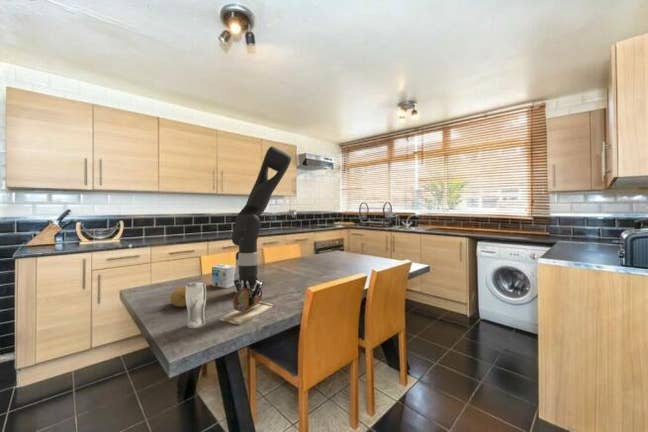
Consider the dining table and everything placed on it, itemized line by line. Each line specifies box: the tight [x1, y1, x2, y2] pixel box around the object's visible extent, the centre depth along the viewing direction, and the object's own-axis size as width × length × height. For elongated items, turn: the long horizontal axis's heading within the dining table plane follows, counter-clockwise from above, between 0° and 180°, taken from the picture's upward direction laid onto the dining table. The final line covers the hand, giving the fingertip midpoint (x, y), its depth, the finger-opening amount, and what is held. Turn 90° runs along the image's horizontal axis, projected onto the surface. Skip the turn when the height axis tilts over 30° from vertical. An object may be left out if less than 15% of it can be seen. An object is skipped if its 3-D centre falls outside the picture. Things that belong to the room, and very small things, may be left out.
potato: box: [170, 285, 187, 308], centre depth 120 cm, size 10×14×8 cm
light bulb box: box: [211, 263, 236, 289], centre depth 150 cm, size 11×7×11 cm, turn 67°
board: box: [219, 301, 273, 326], centre depth 112 cm, size 10×20×1 cm, turn 154°
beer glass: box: [185, 281, 207, 329], centre depth 100 cm, size 7×7×15 cm
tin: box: [232, 284, 263, 312], centre depth 112 cm, size 15×3×8 cm, turn 155°
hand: (248, 305), depth 112 cm, fingers closed on tin, 2 cm apart
